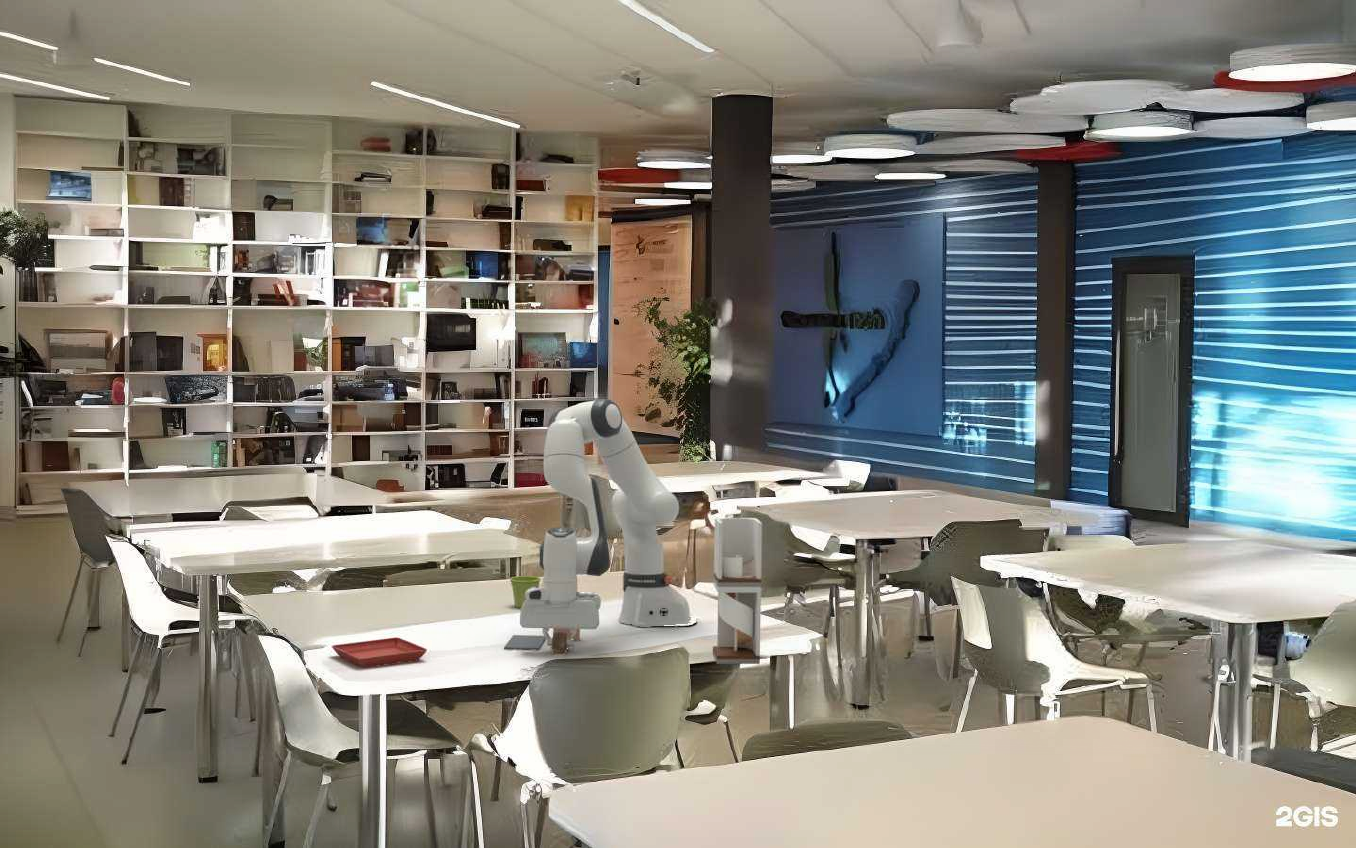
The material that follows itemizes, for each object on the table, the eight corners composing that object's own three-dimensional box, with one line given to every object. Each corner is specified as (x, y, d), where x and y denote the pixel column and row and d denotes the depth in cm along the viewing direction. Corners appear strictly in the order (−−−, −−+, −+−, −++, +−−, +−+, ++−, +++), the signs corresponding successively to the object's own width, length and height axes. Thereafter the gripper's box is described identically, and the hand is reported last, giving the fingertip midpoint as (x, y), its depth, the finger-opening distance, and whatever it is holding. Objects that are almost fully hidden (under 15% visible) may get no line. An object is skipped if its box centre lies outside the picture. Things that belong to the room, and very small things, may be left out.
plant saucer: (359, 671, 328) (359, 657, 328) (330, 657, 343) (330, 644, 343) (428, 662, 339) (428, 649, 339) (397, 649, 353) (397, 637, 353)
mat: (546, 638, 369) (546, 635, 369) (538, 650, 353) (538, 648, 353) (513, 637, 369) (513, 635, 369) (503, 649, 354) (503, 647, 353)
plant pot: (525, 610, 409) (525, 581, 409) (502, 607, 415) (503, 578, 415) (547, 606, 417) (547, 578, 417) (524, 603, 423) (524, 575, 422)
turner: (573, 644, 361) (573, 627, 361) (567, 655, 348) (568, 637, 348) (554, 644, 362) (554, 627, 361) (548, 654, 349) (548, 636, 348)
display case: (712, 654, 351) (714, 517, 350) (753, 654, 352) (756, 518, 351) (716, 664, 340) (719, 523, 339) (759, 664, 341) (762, 523, 339)
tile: (579, 639, 368) (580, 609, 368) (579, 640, 366) (579, 611, 366) (553, 638, 369) (554, 609, 368) (553, 640, 367) (553, 610, 366)
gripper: (601, 590, 354) (601, 644, 354) (522, 589, 354) (522, 642, 355) (599, 594, 347) (598, 649, 348) (518, 593, 348) (518, 647, 349)
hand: (559, 645), depth 352 cm, fingers open, 3 cm apart
